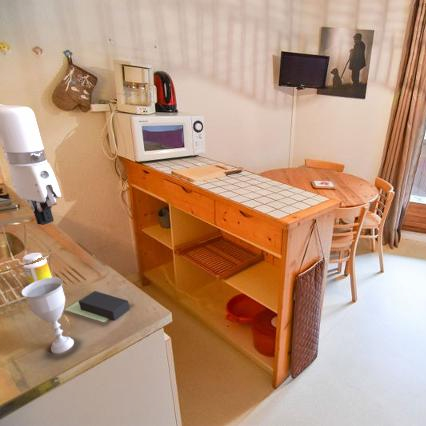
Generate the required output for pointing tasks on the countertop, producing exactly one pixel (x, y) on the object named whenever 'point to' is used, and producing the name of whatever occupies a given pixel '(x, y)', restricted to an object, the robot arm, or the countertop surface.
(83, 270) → the countertop surface
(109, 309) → the pad
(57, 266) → the countertop surface
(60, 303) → the chalice
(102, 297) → the loose pad
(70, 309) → the mat
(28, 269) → the supplement bottle
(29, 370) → the countertop surface
